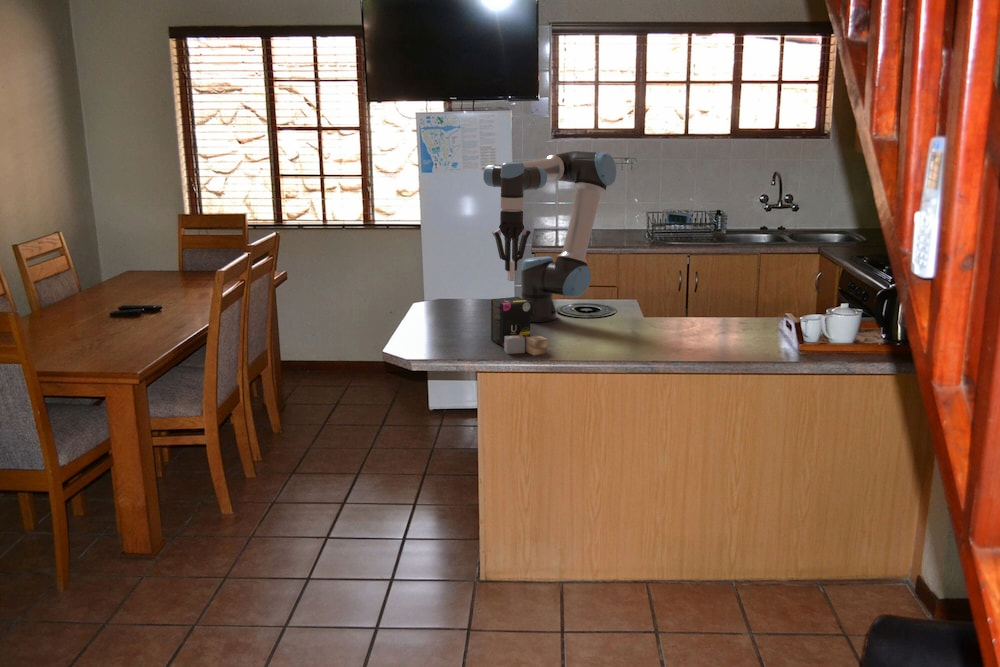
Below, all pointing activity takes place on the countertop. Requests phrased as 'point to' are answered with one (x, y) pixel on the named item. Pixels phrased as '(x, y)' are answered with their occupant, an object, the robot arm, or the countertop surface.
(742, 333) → the countertop surface
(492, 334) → the tampon box
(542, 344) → the beech cube
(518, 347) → the light grey block
